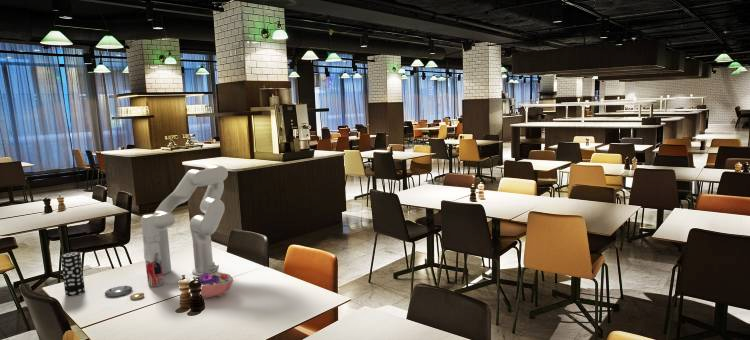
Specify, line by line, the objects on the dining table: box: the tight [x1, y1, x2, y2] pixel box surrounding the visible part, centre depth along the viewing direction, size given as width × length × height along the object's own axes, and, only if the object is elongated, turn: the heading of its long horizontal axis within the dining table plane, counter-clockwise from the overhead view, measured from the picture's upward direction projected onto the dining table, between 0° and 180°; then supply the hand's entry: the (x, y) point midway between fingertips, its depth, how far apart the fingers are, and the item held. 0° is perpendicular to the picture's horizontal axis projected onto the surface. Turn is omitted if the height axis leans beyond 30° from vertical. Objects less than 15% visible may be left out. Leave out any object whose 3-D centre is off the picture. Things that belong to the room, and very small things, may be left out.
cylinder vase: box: [144, 227, 172, 275], centre depth 264 cm, size 12×12×25 cm
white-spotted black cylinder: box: [60, 251, 86, 297], centre depth 238 cm, size 8×8×20 cm
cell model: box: [195, 272, 234, 298], centre depth 230 cm, size 17×20×11 cm
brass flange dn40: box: [129, 292, 145, 301], centre depth 231 cm, size 6×6×1 cm
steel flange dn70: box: [104, 285, 133, 298], centre depth 238 cm, size 12×12×2 cm
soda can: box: [145, 260, 164, 288], centre depth 246 cm, size 7×7×13 cm
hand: (154, 271), depth 246 cm, fingers open, 8 cm apart
